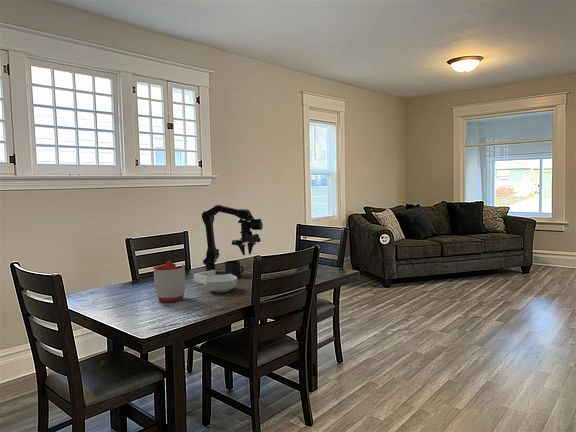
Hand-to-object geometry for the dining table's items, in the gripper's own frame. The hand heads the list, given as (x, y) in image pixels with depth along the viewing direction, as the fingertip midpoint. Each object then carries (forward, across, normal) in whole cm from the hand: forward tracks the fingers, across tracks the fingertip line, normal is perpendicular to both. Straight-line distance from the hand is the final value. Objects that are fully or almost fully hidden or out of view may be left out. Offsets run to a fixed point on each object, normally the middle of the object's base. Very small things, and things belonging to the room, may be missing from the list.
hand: (246, 254), depth 281 cm
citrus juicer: (+12, -61, -16) cm, 64 cm away
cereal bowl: (+12, -35, -22) cm, 43 cm away
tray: (+12, -25, 0) cm, 28 cm away
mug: (+12, -10, 0) cm, 16 cm away
